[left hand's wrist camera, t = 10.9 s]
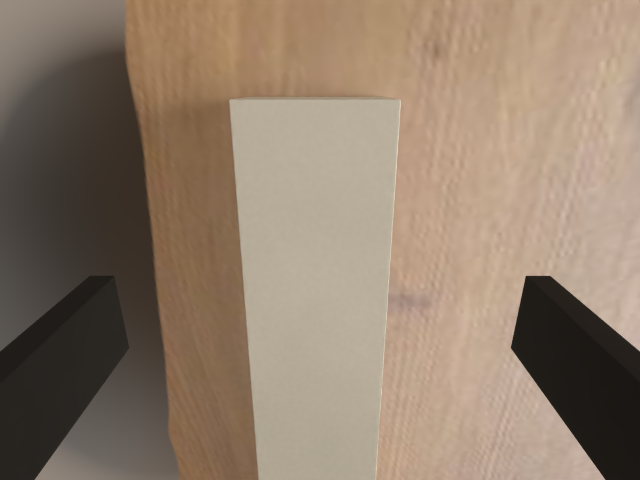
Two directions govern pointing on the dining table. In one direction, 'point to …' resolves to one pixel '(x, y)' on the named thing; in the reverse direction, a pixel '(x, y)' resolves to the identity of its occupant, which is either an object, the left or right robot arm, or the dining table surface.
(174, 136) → the dining table surface
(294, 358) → the beam
